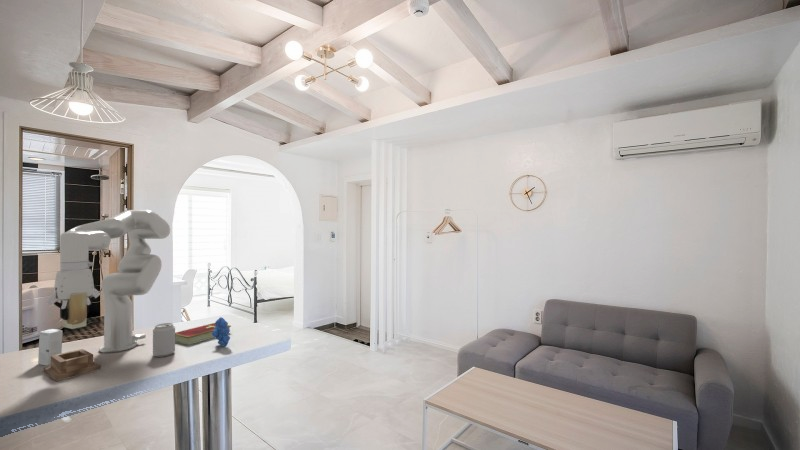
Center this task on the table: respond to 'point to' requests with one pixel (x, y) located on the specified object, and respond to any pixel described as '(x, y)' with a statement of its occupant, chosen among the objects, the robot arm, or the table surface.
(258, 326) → the table surface
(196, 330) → the hardcover book
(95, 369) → the slotted stand
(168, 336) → the can
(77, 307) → the skincare box
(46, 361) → the skincare box
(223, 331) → the grapes
